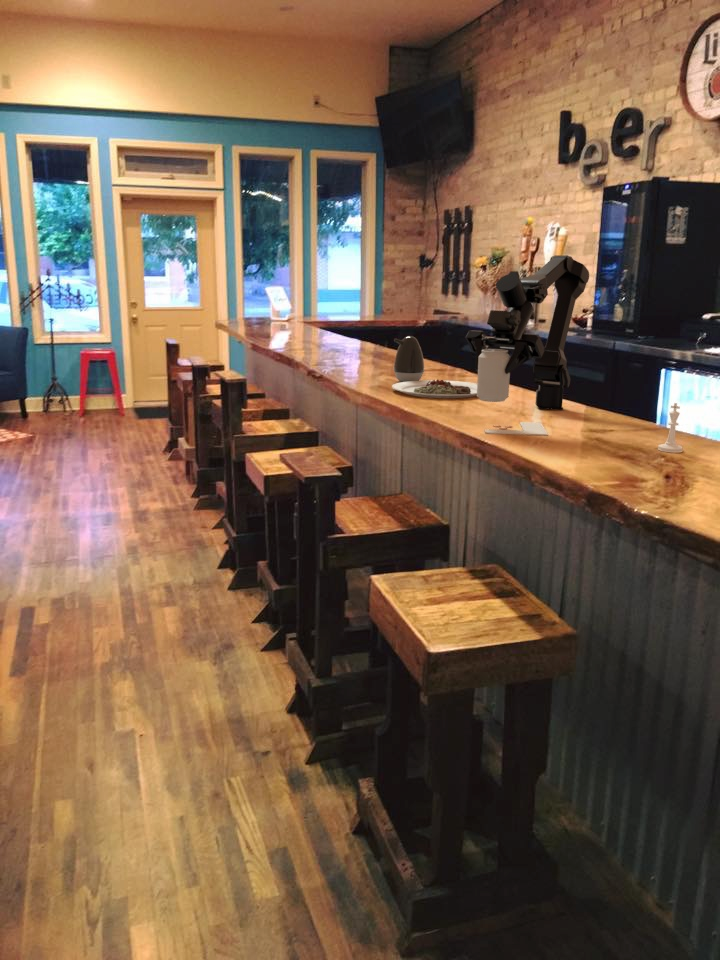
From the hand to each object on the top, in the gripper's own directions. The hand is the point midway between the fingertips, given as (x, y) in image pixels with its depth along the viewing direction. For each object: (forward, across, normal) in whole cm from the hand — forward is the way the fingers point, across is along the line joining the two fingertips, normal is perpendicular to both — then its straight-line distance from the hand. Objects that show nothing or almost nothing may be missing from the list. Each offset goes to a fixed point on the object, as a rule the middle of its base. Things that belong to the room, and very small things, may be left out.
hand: (491, 371), depth 183 cm
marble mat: (+8, +6, +11) cm, 15 cm away
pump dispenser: (-26, -59, +46) cm, 79 cm away
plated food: (-18, -38, +38) cm, 57 cm away
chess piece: (+8, +42, +12) cm, 44 cm away
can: (+4, 0, +6) cm, 7 cm away
